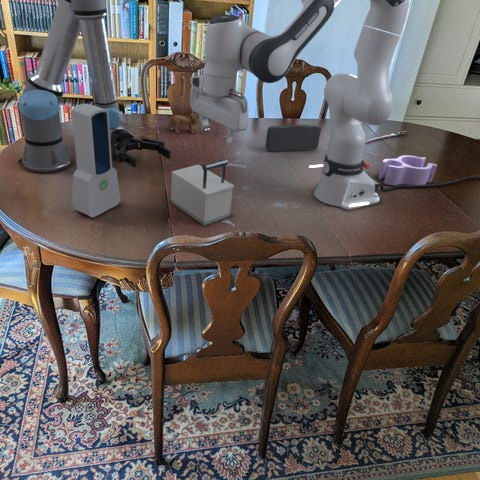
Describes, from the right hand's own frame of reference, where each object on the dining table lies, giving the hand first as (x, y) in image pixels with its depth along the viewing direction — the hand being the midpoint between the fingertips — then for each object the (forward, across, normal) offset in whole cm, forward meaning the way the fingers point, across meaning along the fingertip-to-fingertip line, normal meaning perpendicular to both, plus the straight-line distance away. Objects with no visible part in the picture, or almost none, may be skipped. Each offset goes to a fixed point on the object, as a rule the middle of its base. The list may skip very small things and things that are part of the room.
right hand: (216, 136), depth 126 cm
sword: (+25, +11, -113) cm, 116 cm away
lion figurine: (+25, +62, -36) cm, 76 cm away
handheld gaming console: (+25, +24, -62) cm, 71 cm away
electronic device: (+25, +22, +25) cm, 42 cm away
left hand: (+19, +32, 0) cm, 37 cm away
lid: (+15, +5, 0) cm, 16 cm away
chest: (+25, +6, 0) cm, 26 cm away
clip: (+25, -18, -79) cm, 85 cm away
